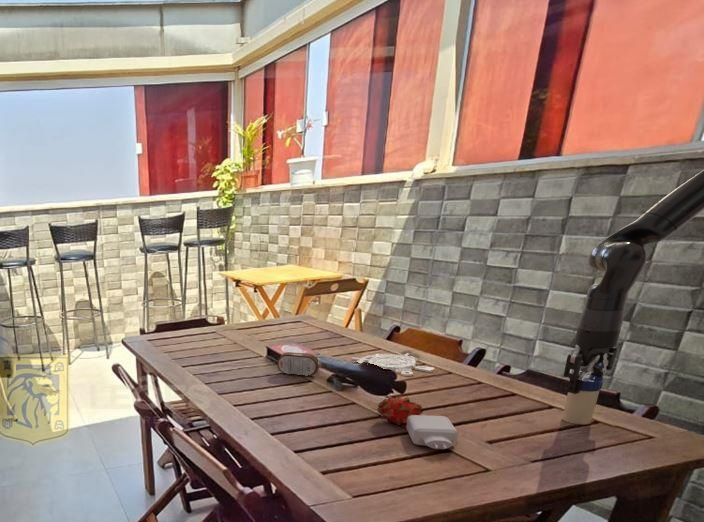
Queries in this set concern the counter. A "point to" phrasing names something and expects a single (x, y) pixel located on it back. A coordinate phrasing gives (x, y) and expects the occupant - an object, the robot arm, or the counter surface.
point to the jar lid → (591, 383)
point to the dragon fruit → (398, 409)
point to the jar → (580, 407)
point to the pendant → (395, 363)
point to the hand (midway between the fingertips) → (583, 389)
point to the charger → (432, 431)
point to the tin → (298, 363)
